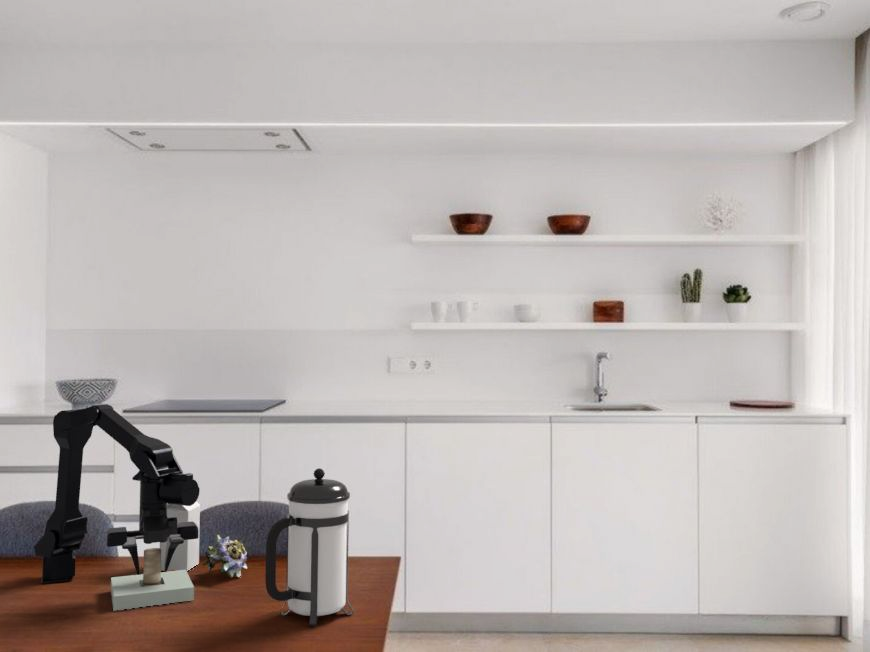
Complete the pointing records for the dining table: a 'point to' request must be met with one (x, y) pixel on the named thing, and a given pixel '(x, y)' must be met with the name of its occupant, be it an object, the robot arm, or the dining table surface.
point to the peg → (152, 567)
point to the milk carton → (189, 550)
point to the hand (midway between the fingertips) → (151, 573)
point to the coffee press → (313, 549)
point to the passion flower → (227, 556)
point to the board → (151, 590)
